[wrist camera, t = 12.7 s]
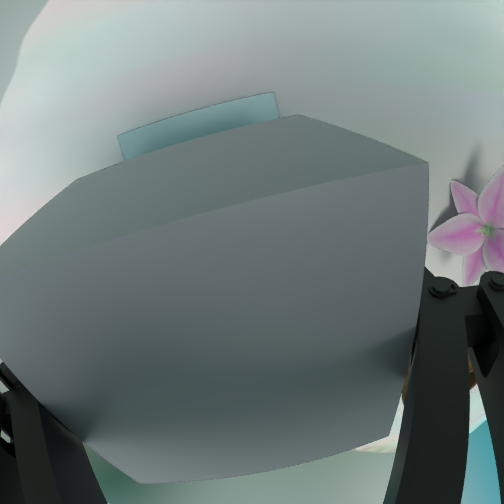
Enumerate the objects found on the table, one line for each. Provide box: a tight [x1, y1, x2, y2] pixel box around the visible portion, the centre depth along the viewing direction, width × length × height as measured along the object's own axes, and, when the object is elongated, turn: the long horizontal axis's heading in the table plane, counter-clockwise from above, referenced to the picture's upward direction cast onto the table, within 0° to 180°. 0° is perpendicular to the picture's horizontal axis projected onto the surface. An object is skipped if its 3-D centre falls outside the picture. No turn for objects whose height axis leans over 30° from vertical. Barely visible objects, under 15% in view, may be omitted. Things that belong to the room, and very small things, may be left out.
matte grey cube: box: [0, 115, 429, 483], centre depth 11 cm, size 10×10×9 cm
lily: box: [427, 166, 504, 287], centre depth 25 cm, size 12×12×10 cm
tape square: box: [117, 92, 279, 161], centre depth 24 cm, size 12×12×1 cm
